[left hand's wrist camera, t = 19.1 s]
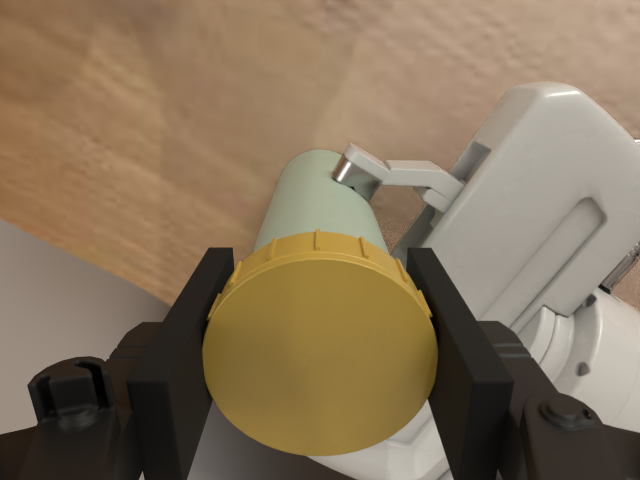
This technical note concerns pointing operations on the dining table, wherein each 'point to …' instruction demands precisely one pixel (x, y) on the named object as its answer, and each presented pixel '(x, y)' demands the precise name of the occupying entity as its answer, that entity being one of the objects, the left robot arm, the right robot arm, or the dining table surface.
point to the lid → (320, 345)
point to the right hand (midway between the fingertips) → (302, 221)
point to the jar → (317, 203)
